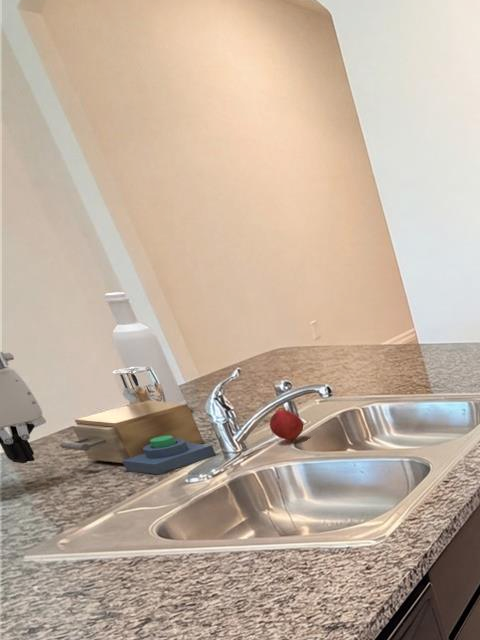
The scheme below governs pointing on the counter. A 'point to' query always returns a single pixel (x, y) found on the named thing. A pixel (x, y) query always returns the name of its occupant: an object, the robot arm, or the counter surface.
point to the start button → (162, 441)
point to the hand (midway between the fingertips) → (23, 461)
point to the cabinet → (147, 424)
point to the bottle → (140, 345)
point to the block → (168, 457)
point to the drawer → (98, 442)
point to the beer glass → (139, 384)
